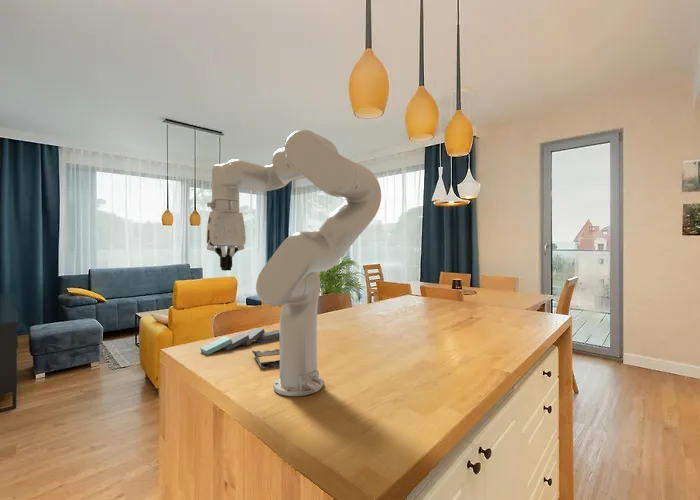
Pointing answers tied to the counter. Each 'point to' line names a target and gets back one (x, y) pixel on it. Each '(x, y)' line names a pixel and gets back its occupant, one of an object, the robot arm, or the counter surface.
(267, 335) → the domino
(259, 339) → the domino
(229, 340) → the teal domino
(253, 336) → the domino
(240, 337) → the domino
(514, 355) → the counter surface
